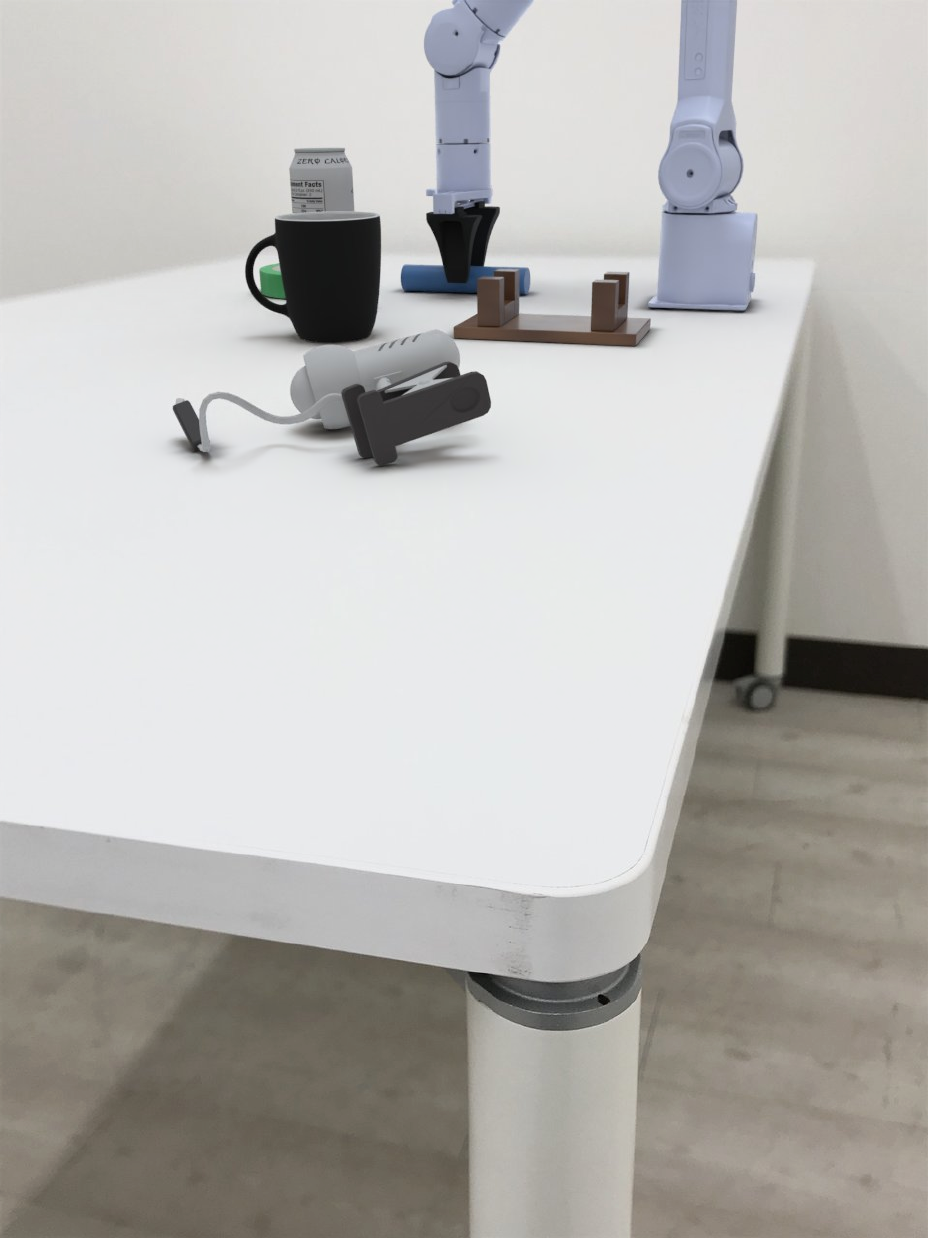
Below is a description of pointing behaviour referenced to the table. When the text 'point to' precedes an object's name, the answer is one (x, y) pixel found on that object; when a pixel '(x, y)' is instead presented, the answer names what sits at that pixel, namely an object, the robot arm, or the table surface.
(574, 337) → the holder
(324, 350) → the clip-on lamp
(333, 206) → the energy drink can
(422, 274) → the handle
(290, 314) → the mug
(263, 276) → the tape roll
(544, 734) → the table surface
